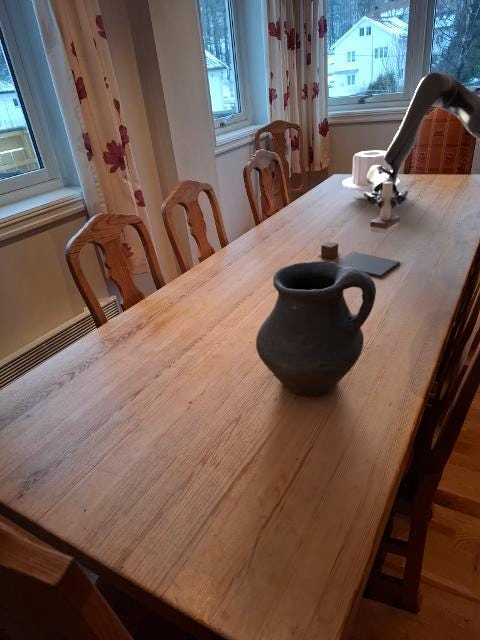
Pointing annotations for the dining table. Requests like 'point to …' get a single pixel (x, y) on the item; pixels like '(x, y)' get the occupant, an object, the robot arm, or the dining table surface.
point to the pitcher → (314, 326)
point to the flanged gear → (364, 171)
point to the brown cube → (329, 250)
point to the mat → (368, 263)
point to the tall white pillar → (385, 212)
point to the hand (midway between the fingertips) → (387, 204)
